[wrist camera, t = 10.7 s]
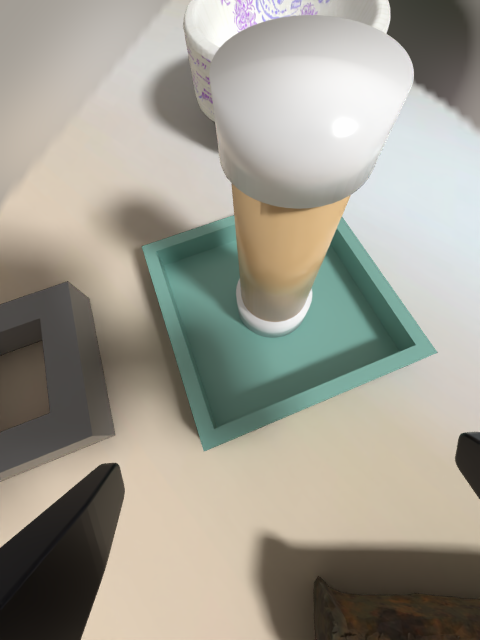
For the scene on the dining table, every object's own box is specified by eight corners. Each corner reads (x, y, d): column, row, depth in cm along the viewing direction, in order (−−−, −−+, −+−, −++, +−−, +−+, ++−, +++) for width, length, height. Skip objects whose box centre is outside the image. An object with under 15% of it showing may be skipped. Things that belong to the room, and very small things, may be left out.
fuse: (302, 343, 17) (419, 141, 5) (231, 331, 18) (187, 123, 6) (309, 280, 19) (409, 18, 7) (244, 271, 19) (230, 12, 7)
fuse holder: (115, 435, 16) (92, 435, 14) (-57, 504, 15) (-112, 517, 13) (89, 298, 20) (67, 281, 18) (-51, 347, 19) (-93, 335, 17)
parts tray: (412, 363, 17) (437, 352, 15) (211, 448, 16) (204, 451, 14) (313, 211, 22) (320, 186, 20) (154, 266, 21) (141, 246, 19)
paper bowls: (230, 193, 23) (220, 85, 16) (183, 96, 29) (159, -17, 22) (386, 144, 25) (441, 24, 18) (312, 61, 31) (330, -57, 23)
